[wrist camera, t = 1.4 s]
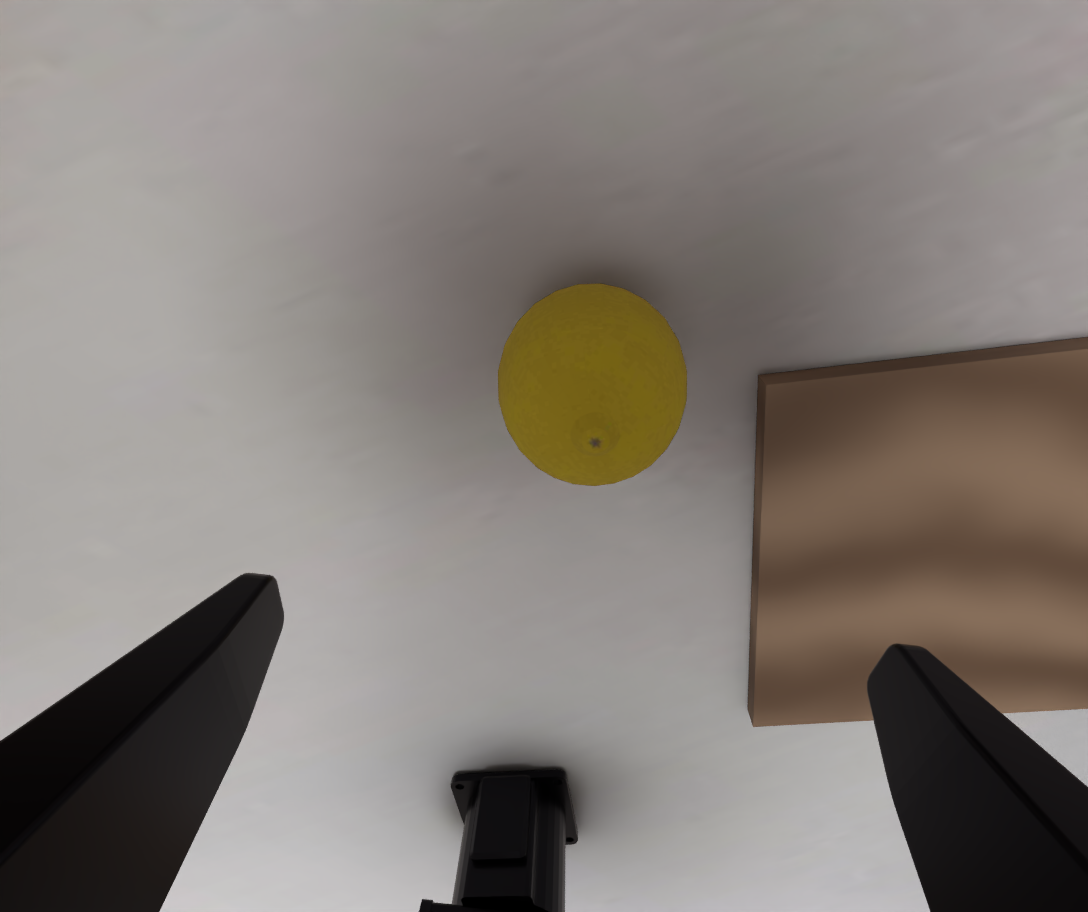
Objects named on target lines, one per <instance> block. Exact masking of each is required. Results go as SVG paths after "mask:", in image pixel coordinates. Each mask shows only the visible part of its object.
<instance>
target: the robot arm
mask: <svg viewBox="0 0 1088 912" xmlns="http://www.w3.org/2000/svg"><path fill="white" fill-rule="evenodd" d="M283 622H284V611H283V607H282V602H281V597H280V593H279V588H278V584H277V581H276V579H275V578H274V577H273V576H271V575H265V574H256V573H245V574H243V575H240V576H239V577H237V578H236V579H234V580H233V581H231V582H230V583H228V584H227V585H226V586H224V587H223V588H221V589H220V590H218V591H217V592H215V593H214V594H213V595H211V596H210V597H208V598H207V599H205V600H204V601H202V602H201V603H199V604H198V605H197V606H195V607H194V608H192V609H191V610H189V611H188V612H186V613H185V614H184V615H182V616H181V617H179V618H178V619H176V620H175V621H173V622H172V623H171V624H169V625H168V626H166V627H165V628H163V629H162V630H160V631H159V632H157V633H156V634H155V635H153V636H152V637H150V638H149V639H147V640H146V641H144V642H143V643H142V644H140V645H139V646H137V647H136V648H134V649H133V650H131V651H130V652H129V653H127V654H126V655H124V656H123V657H121V658H120V659H118V660H117V661H115V662H114V663H113V664H111V665H110V666H108V667H107V668H105V669H104V670H102V671H101V672H100V673H98V674H97V675H95V676H94V677H92V678H91V679H89V680H88V681H87V682H85V683H84V684H82V685H81V686H79V687H78V688H76V689H75V690H73V691H72V692H71V693H69V694H68V695H66V696H65V697H63V698H62V699H60V700H59V701H58V702H56V703H55V704H53V705H52V706H50V707H49V708H47V709H46V710H45V711H43V712H42V713H40V714H39V715H37V716H36V717H34V718H33V719H31V720H30V721H29V722H27V723H26V724H24V725H23V726H21V727H20V728H18V729H17V730H16V731H14V732H13V733H11V734H10V735H8V736H7V737H5V738H4V739H3V740H1V741H0V912H159V911H160V909H161V907H162V905H163V903H164V901H165V899H166V897H167V894H168V892H169V890H170V888H171V886H172V884H173V882H174V880H175V878H176V876H177V874H178V871H179V869H180V867H181V865H182V863H183V861H184V859H185V857H186V855H187V853H188V851H189V849H190V846H191V844H192V842H193V840H194V838H195V836H196V834H197V832H198V830H199V828H200V826H201V824H202V821H203V819H204V817H205V815H206V813H207V811H208V809H209V807H210V805H211V803H212V801H213V798H214V796H215V794H216V792H217V790H218V788H219V786H220V784H221V782H222V780H223V778H224V776H225V773H226V771H227V769H228V767H229V765H230V763H231V761H232V759H233V757H234V755H235V753H236V751H237V748H238V746H239V744H240V742H241V740H242V737H243V735H244V733H245V731H246V728H247V726H248V723H249V720H250V718H251V715H252V712H253V710H254V707H255V704H256V701H257V698H258V695H259V693H260V690H261V687H262V684H263V681H264V679H265V676H266V673H267V670H268V667H269V664H270V662H271V659H272V656H273V653H274V650H275V648H276V645H277V642H278V639H279V636H280V634H281V631H282V627H283ZM867 694H868V698H869V703H870V707H871V711H872V715H873V720H874V724H875V728H876V733H877V737H878V741H879V745H880V750H881V754H882V758H883V763H884V767H885V771H886V775H887V780H888V783H889V787H890V791H891V795H892V798H893V802H894V805H895V808H896V811H897V814H898V817H899V820H900V823H901V826H902V829H903V832H904V835H905V838H906V841H907V844H908V847H909V850H910V853H911V856H912V859H913V862H914V865H915V867H916V870H917V873H918V876H919V879H920V882H921V885H922V888H923V891H924V894H925V897H926V900H927V903H928V906H929V909H930V912H1088V787H1087V786H1086V785H1085V784H1084V783H1083V782H1081V781H1080V780H1079V779H1078V778H1077V777H1076V776H1074V775H1073V774H1072V773H1071V772H1070V771H1069V770H1067V769H1066V768H1065V767H1064V766H1063V765H1062V764H1060V763H1059V762H1058V761H1057V760H1056V759H1054V758H1053V757H1052V756H1051V755H1050V754H1049V753H1047V752H1046V751H1045V750H1044V749H1043V748H1042V747H1040V746H1039V745H1038V744H1037V743H1036V742H1035V741H1033V740H1032V739H1031V738H1030V737H1029V736H1028V735H1026V734H1025V733H1024V732H1023V731H1022V730H1021V729H1019V728H1018V727H1017V726H1016V725H1015V724H1014V723H1012V722H1011V721H1010V720H1009V719H1008V718H1007V717H1005V716H1004V715H1003V714H1002V713H1001V712H1000V711H998V710H997V709H996V708H995V707H994V706H993V705H991V704H990V703H989V702H988V701H987V700H986V699H984V698H983V697H982V696H981V695H980V694H978V693H977V692H976V691H975V690H974V689H973V688H971V687H970V686H969V685H968V684H967V683H966V682H964V681H963V680H962V679H961V678H960V677H959V676H957V675H956V674H955V673H954V672H953V671H952V670H950V669H949V668H948V667H947V666H946V665H945V664H943V663H942V662H941V661H940V660H939V659H938V658H936V657H935V656H934V655H933V654H932V653H931V652H929V651H928V650H927V649H925V648H923V647H921V646H916V645H908V644H899V643H896V644H892V645H890V646H889V647H888V648H887V649H886V651H885V652H884V654H883V655H882V657H881V658H880V660H879V661H878V663H877V664H876V666H875V667H874V669H873V670H872V672H871V673H870V675H869V677H868V680H867ZM451 789H452V791H453V794H454V797H455V800H456V803H457V806H458V809H459V812H460V815H461V817H462V820H463V823H464V830H463V837H462V843H461V849H460V856H459V862H458V868H457V875H456V881H455V887H454V894H453V900H452V904H443V903H433V900H426V899H422V902H421V906H420V910H419V912H565V845H571V844H575V843H576V842H577V841H578V831H577V826H576V821H575V816H574V811H573V805H572V800H571V795H570V790H569V785H568V780H567V775H566V773H565V772H564V771H562V770H539V771H518V772H498V773H477V774H458V775H455V776H453V778H452V782H451Z"/></svg>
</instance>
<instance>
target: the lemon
mask: <svg viewBox="0 0 1088 912" xmlns="http://www.w3.org/2000/svg"><path fill="white" fill-rule="evenodd" d="M498 395H499V404H500V407H501V411H502V414H503V417H504V421H505V424H506V427H507V430H508V431H509V433H510V435H511V436H512V438H513V440H514V441H515V443H516V445H517V446H518V448H519V450H520V451H521V452H522V453H523V454H524V455H525V456H526V457H527V458H528V459H529V460H530V461H531V462H532V463H533V464H534V465H535V466H536V467H537V468H539V469H540V470H542V471H544V472H545V473H547V474H549V475H551V476H552V477H554V478H557V479H560V480H563V481H566V482H569V483H572V484H579V485H590V486H597V485H605V484H613V483H616V482H619V481H622V480H625V479H628V478H630V477H633V476H635V475H636V474H638V473H640V472H641V471H643V470H644V469H646V468H648V467H649V466H651V465H652V464H653V463H654V462H655V461H656V460H657V459H658V458H659V457H660V455H661V454H662V453H663V452H664V451H665V450H666V449H667V447H668V446H669V444H670V442H671V441H672V439H673V437H674V436H675V434H676V432H677V430H678V428H679V426H680V422H681V419H682V415H683V412H684V408H685V405H686V400H687V370H686V365H685V361H684V358H683V354H682V350H681V347H680V344H679V341H678V339H677V337H676V336H675V334H674V332H673V331H672V329H671V327H670V326H669V324H668V322H667V321H666V319H665V318H664V317H663V316H662V315H661V314H660V313H659V312H658V311H657V310H656V309H655V308H654V307H652V306H651V305H650V304H649V303H648V302H647V301H646V300H644V299H643V298H641V297H639V296H637V295H635V294H633V293H631V292H629V291H627V290H625V289H623V288H618V287H614V286H610V285H605V284H601V283H600V284H577V285H574V286H571V287H567V288H564V289H561V290H557V291H555V292H553V293H552V294H550V295H548V296H547V297H545V298H543V299H542V300H540V301H539V302H537V303H535V304H534V305H533V306H532V307H531V308H530V309H529V310H528V311H527V312H526V313H525V314H524V315H523V316H522V318H521V319H520V320H519V321H518V322H517V324H516V325H515V327H514V329H513V331H512V333H511V334H510V336H509V338H508V340H507V342H506V344H505V346H504V350H503V354H502V358H501V362H500V365H499V370H498Z"/></svg>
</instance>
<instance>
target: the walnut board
mask: <svg viewBox="0 0 1088 912" xmlns="http://www.w3.org/2000/svg"><path fill="white" fill-rule="evenodd" d="M896 643H899V644H908V645H916V646H921V647H923V648H925V649H927V650H928V651H929V652H931V653H932V654H933V655H934V656H935V657H936V658H938V659H939V660H940V661H941V662H942V663H943V664H945V665H946V666H947V667H948V668H949V669H950V670H952V671H953V672H954V673H955V674H956V675H957V676H959V677H960V678H961V679H962V680H963V681H964V682H966V683H967V684H968V685H969V686H970V687H971V688H973V689H974V690H975V691H976V692H977V693H978V694H980V695H981V696H982V697H983V698H984V699H986V700H987V701H988V702H989V703H990V704H991V705H993V706H994V707H995V708H996V709H997V710H998V711H1000V712H1001V713H1016V712H1034V711H1053V710H1071V709H1088V337H1086V338H1077V339H1068V340H1059V341H1051V342H1042V343H1033V344H1025V345H1016V346H1007V347H998V348H990V349H981V350H972V351H964V352H955V353H946V354H937V355H929V356H920V357H911V358H903V359H894V360H885V361H876V362H868V363H859V364H850V365H842V366H833V367H824V368H815V369H807V370H798V371H789V372H781V373H772V374H763V375H758V398H757V430H756V462H755V493H754V525H753V557H752V589H751V621H750V653H749V685H748V712H749V715H750V718H751V722H752V725H753V727H760V726H778V725H796V724H815V723H833V722H851V721H870V720H873V715H872V711H871V707H870V703H869V698H868V694H867V680H868V677H869V675H870V673H871V672H872V670H873V669H874V667H875V666H876V664H877V663H878V661H879V660H880V658H881V657H882V655H883V654H884V652H885V651H886V649H887V648H888V647H889V646H890V645H892V644H896Z"/></svg>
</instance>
